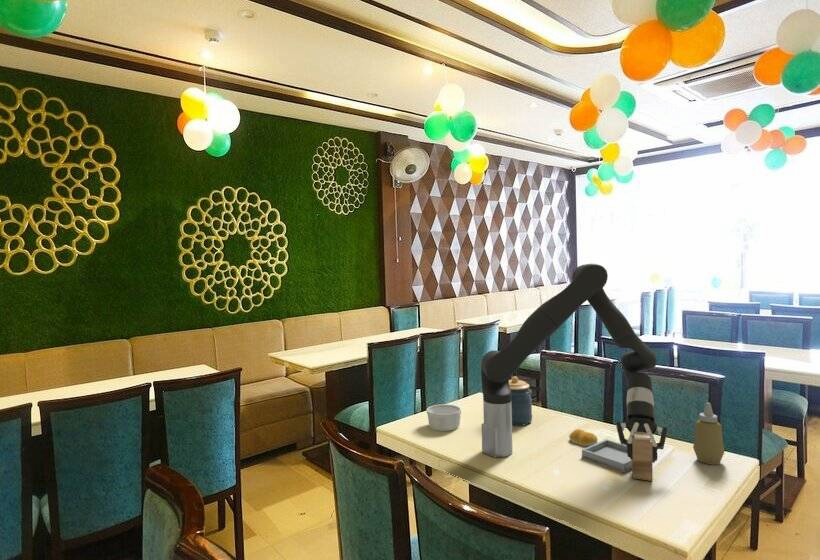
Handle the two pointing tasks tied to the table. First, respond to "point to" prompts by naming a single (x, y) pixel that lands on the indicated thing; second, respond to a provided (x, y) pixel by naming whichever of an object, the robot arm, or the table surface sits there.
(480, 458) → the table surface
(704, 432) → the squeeze bottle
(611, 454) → the tray
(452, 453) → the table surface
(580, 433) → the bread roll
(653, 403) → the robot arm
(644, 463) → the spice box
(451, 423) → the ramekin
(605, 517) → the table surface
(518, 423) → the canister
